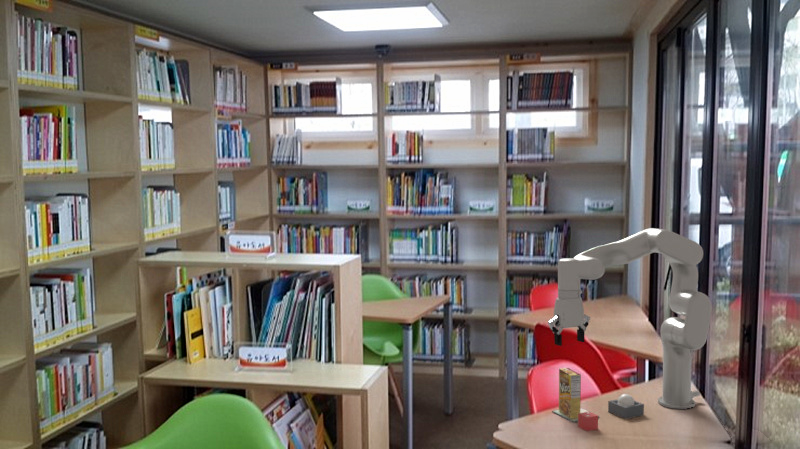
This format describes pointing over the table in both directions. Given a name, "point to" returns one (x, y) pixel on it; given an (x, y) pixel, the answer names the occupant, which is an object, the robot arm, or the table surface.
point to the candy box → (569, 392)
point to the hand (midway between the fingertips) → (569, 343)
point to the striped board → (568, 417)
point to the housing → (625, 409)
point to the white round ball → (625, 400)
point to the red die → (588, 421)
